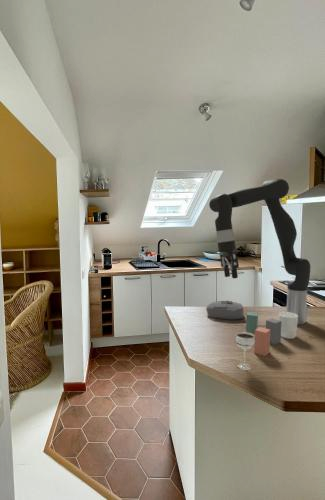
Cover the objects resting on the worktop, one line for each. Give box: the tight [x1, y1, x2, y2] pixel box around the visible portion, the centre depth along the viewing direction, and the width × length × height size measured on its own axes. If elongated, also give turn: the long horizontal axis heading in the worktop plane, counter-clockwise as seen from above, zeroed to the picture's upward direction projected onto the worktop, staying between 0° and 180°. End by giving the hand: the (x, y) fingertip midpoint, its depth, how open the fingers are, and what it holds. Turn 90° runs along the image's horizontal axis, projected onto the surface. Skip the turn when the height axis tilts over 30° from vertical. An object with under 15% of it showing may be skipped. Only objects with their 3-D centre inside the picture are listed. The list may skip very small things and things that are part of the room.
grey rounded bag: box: [205, 300, 244, 320], centre depth 165 cm, size 15×8×20 cm
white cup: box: [278, 311, 298, 340], centre depth 137 cm, size 8×8×10 cm
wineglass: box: [235, 330, 255, 371], centre depth 108 cm, size 7×7×12 cm
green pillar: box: [245, 311, 259, 335], centre depth 139 cm, size 4×4×10 cm
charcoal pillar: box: [265, 318, 282, 346], centre depth 130 cm, size 4×4×10 cm
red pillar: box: [253, 326, 271, 357], centre depth 120 cm, size 4×4×10 cm
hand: (231, 277), depth 131 cm, fingers open, 8 cm apart
